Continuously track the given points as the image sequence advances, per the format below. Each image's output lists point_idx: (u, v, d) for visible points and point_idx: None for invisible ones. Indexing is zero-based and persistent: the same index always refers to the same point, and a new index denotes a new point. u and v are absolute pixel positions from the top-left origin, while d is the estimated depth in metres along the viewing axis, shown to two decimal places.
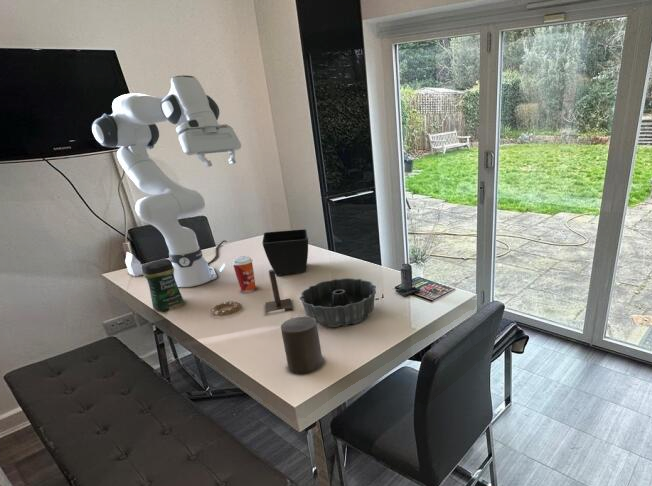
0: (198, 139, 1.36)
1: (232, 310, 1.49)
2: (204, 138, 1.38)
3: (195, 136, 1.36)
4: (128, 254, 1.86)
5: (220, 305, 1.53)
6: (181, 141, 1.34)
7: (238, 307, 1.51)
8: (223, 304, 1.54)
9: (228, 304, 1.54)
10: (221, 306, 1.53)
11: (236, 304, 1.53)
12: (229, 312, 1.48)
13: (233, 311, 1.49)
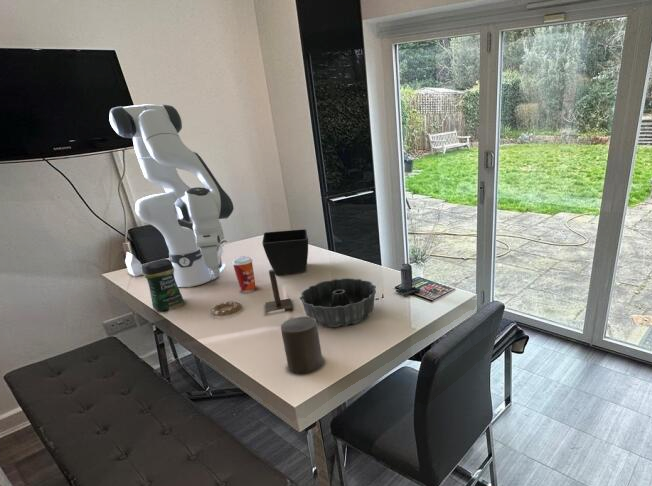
0: None
1: (232, 310, 1.49)
2: (216, 250, 1.44)
3: None
4: (128, 254, 1.86)
5: (220, 305, 1.53)
6: (206, 256, 1.37)
7: (238, 307, 1.51)
8: (223, 304, 1.54)
9: (228, 304, 1.54)
10: (221, 306, 1.53)
11: (236, 304, 1.53)
12: (229, 312, 1.48)
13: (233, 311, 1.49)
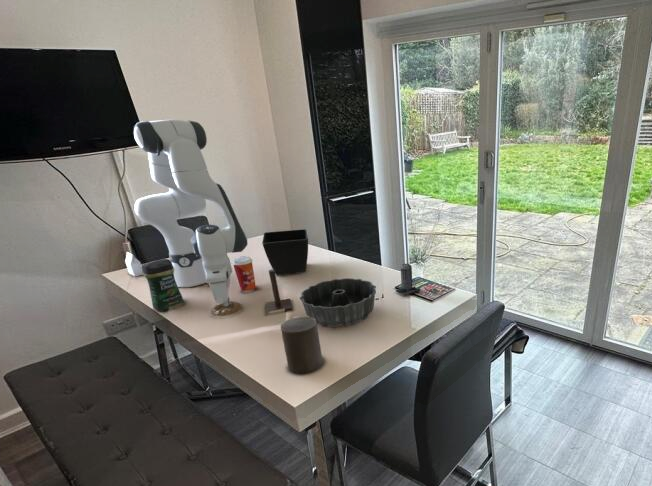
0: None
1: (232, 310, 1.49)
2: (225, 284, 1.49)
3: None
4: (128, 254, 1.86)
5: (220, 305, 1.53)
6: (215, 291, 1.43)
7: (238, 307, 1.51)
8: None
9: None
10: (221, 306, 1.53)
11: (236, 304, 1.53)
12: (229, 312, 1.48)
13: (233, 311, 1.49)
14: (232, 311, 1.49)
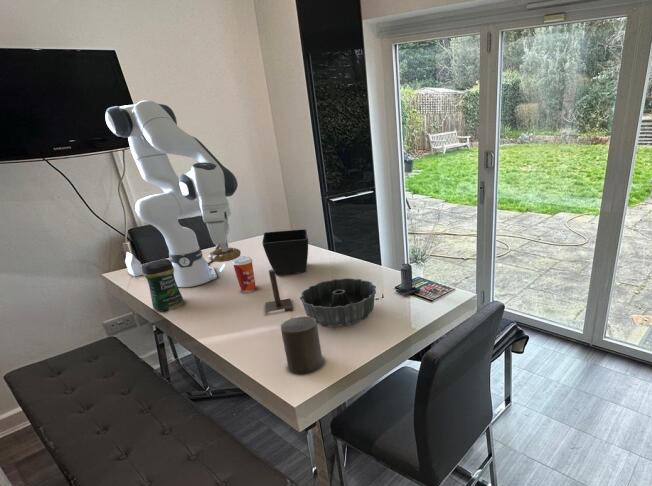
0: None
1: (231, 255, 1.41)
2: (223, 227, 1.41)
3: None
4: (128, 254, 1.86)
5: (218, 250, 1.45)
6: (213, 232, 1.34)
7: (237, 252, 1.43)
8: (221, 250, 1.46)
9: (227, 250, 1.46)
10: (219, 251, 1.45)
11: (235, 250, 1.45)
12: (227, 256, 1.40)
13: (232, 256, 1.41)
14: (230, 256, 1.41)
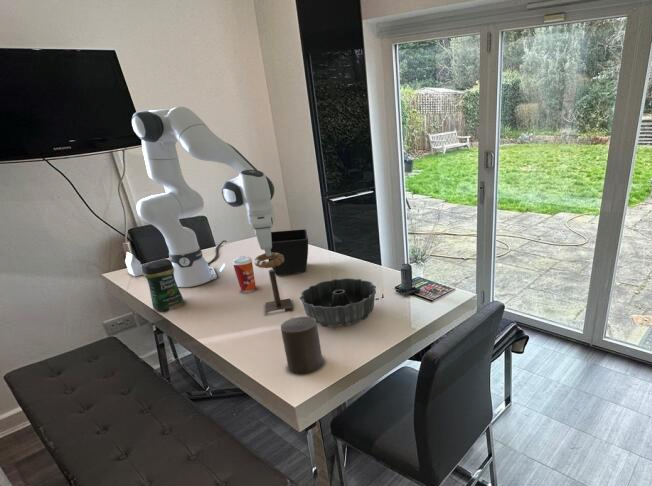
0: None
1: (276, 261, 1.45)
2: None
3: None
4: (128, 254, 1.86)
5: (262, 256, 1.48)
6: (261, 237, 1.38)
7: (281, 258, 1.47)
8: (265, 255, 1.49)
9: None
10: (263, 257, 1.48)
11: (279, 255, 1.48)
12: (273, 263, 1.44)
13: (277, 262, 1.45)
14: (276, 262, 1.45)
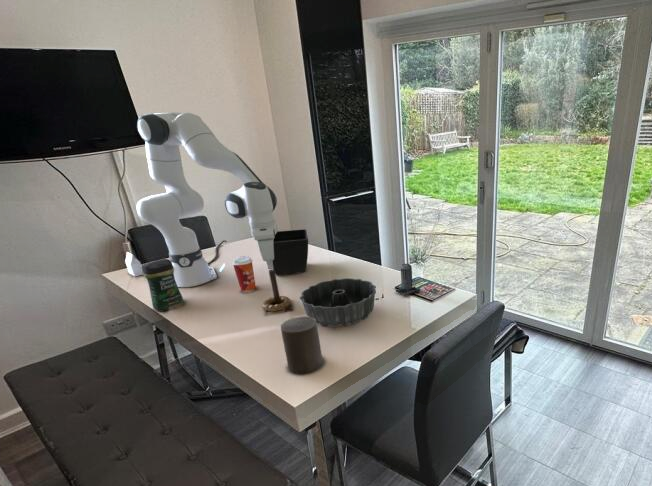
0: None
1: (285, 304, 1.51)
2: None
3: None
4: (128, 254, 1.86)
5: (269, 300, 1.54)
6: (263, 249, 1.40)
7: (289, 300, 1.53)
8: (271, 299, 1.55)
9: None
10: (270, 301, 1.54)
11: (285, 298, 1.55)
12: (282, 306, 1.50)
13: (286, 304, 1.51)
14: (285, 305, 1.51)
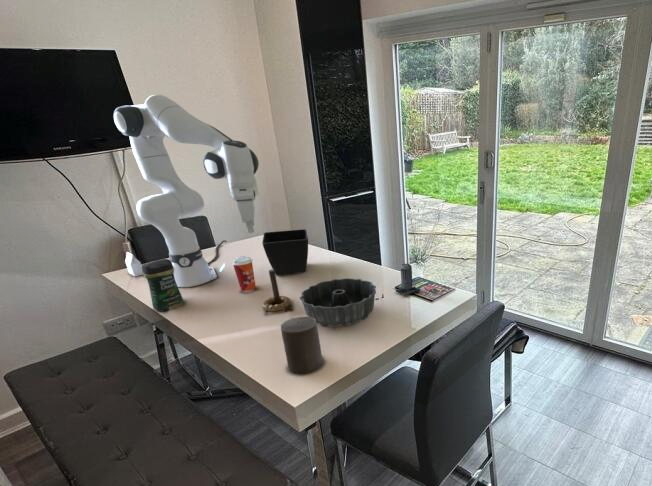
0: None
1: (285, 304, 1.51)
2: None
3: None
4: (128, 254, 1.86)
5: (269, 300, 1.54)
6: (242, 209, 1.35)
7: (289, 300, 1.53)
8: (271, 299, 1.55)
9: None
10: (270, 301, 1.54)
11: (285, 298, 1.55)
12: (282, 306, 1.50)
13: (286, 304, 1.51)
14: (285, 305, 1.51)
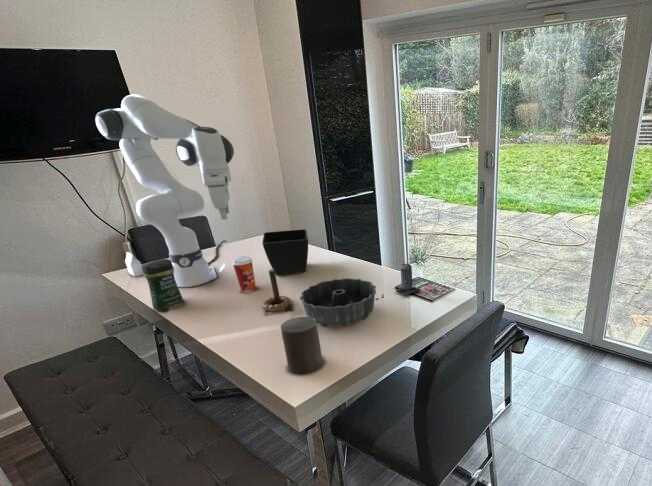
0: None
1: (285, 304, 1.51)
2: None
3: None
4: (128, 254, 1.86)
5: (269, 300, 1.54)
6: (214, 195, 1.35)
7: (289, 300, 1.53)
8: (271, 299, 1.55)
9: None
10: (270, 301, 1.54)
11: (285, 298, 1.55)
12: (282, 306, 1.50)
13: (286, 304, 1.51)
14: (285, 305, 1.51)
